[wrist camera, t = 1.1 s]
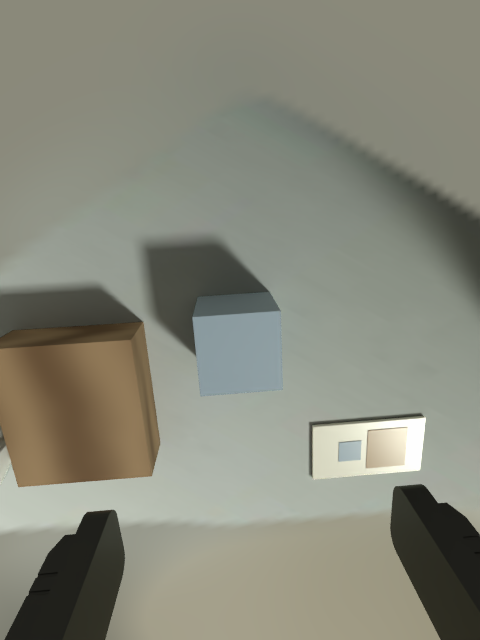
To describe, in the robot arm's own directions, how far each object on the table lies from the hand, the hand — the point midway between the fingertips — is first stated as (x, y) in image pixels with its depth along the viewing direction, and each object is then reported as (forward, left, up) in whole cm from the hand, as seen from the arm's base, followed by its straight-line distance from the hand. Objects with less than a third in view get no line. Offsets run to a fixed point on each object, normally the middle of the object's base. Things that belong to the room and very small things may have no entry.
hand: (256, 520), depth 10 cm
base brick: (+11, +4, -17) cm, 20 cm away
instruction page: (-10, +11, -16) cm, 22 cm away
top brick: (0, 0, -16) cm, 16 cm away
